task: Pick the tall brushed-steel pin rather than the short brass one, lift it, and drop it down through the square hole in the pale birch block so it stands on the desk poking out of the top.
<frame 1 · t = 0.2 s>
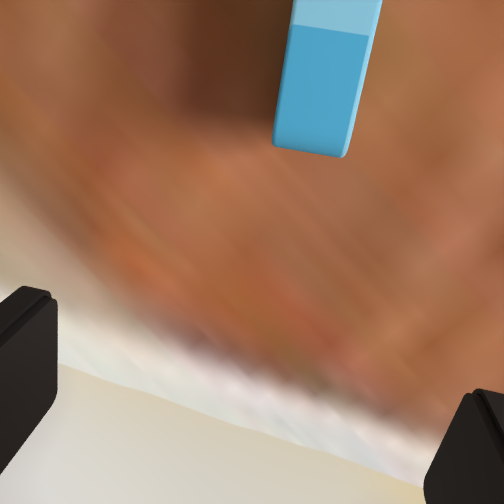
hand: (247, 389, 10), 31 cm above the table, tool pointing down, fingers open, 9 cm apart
data package: (324, 47, 36), on the table
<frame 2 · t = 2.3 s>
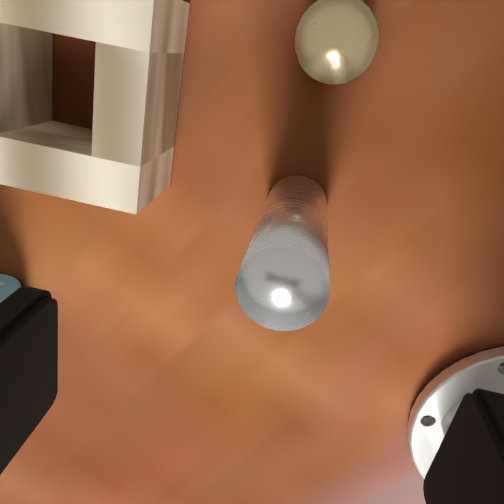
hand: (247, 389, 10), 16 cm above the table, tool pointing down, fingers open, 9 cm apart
short pin: (333, 43, 22), on the table
tall pin: (296, 204, 25), on the table
pin block: (94, 84, 24), on the table
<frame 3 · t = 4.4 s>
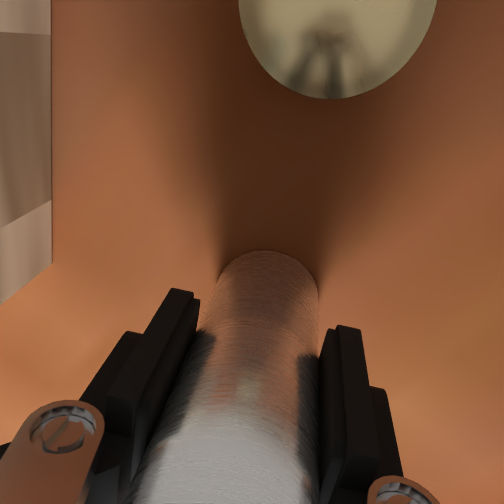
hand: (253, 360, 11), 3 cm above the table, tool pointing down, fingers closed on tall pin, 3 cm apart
short pin: (329, 13, 11), on the table
tall pin: (266, 297, 14), on the table, touching gripper
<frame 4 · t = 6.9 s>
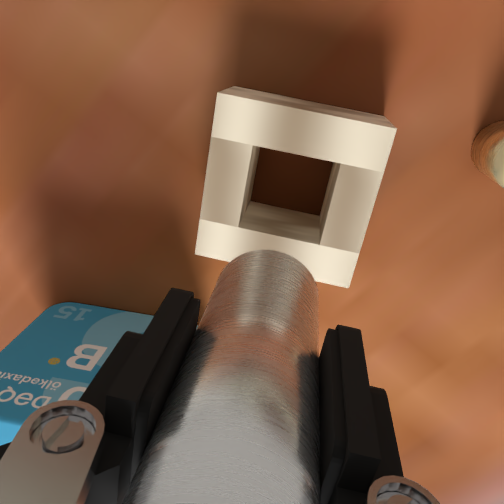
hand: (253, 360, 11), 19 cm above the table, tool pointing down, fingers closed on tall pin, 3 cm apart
data package: (132, 333, 36), on the table
short pin: (500, 148, 27), on the table
tall pin: (266, 296, 14), point 16 cm above the table, touching gripper
pin block: (292, 174, 29), on the table
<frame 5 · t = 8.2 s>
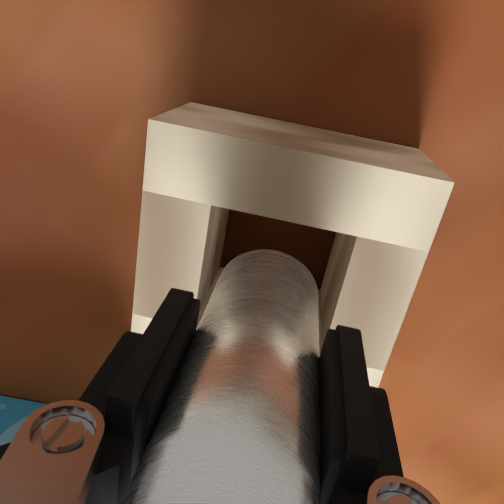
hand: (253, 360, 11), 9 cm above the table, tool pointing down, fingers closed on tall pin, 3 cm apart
data package: (66, 432, 27), on the table
tall pin: (266, 296, 14), point 6 cm above the table, touching gripper
pin block: (280, 231, 20), on the table
when the fingers open (6 cm above the table, at t = 9.4 s): tall pin drops 3 cm, resting in pin block.
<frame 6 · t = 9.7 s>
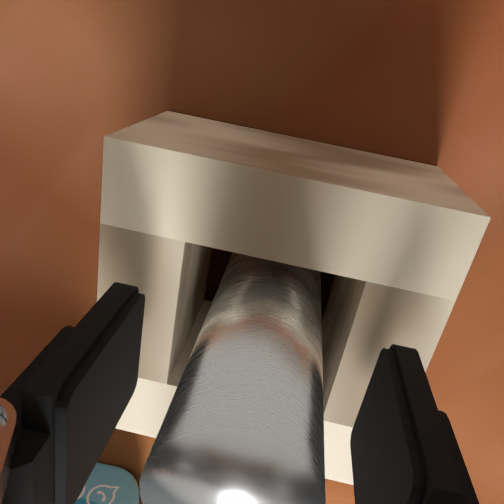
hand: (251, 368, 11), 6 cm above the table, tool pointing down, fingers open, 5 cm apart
data package: (37, 476, 24), on the table
tall pin: (276, 260, 17), resting in pin block
pin block: (273, 260, 17), on the table
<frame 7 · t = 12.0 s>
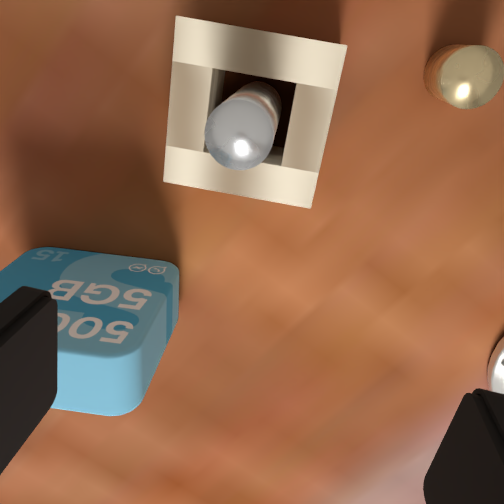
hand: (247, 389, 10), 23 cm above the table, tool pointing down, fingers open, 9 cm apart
data package: (110, 276, 37), on the table
short pin: (450, 73, 28), on the table
tall pin: (257, 107, 30), resting in pin block
pin block: (256, 106, 30), on the table
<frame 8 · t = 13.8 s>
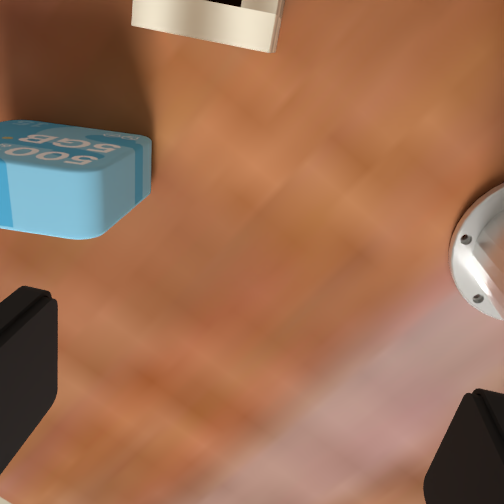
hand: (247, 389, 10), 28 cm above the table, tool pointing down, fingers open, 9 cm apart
data package: (88, 153, 39), on the table
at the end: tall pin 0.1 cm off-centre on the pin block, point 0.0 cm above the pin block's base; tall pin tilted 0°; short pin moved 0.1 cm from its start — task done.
